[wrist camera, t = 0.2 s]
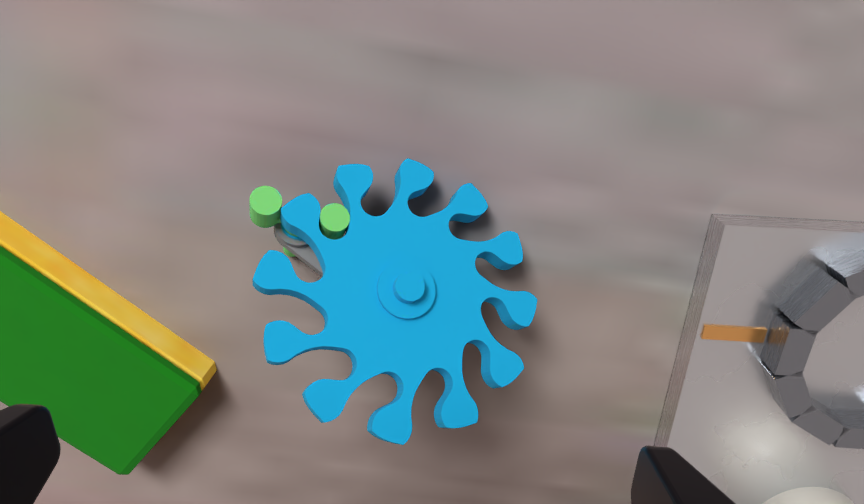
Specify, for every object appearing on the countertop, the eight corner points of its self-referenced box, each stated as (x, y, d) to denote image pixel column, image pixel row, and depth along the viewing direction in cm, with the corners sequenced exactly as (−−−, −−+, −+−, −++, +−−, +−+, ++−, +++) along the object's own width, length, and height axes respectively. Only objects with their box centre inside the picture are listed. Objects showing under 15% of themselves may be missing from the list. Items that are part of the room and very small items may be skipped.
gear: (589, 266, 21) (447, 513, 17) (519, 300, 26) (399, 492, 22) (356, 79, 20) (149, 288, 16) (334, 153, 26) (174, 323, 21)
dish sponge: (-51, 166, 23) (-107, 183, 21) (224, 360, 26) (201, 393, 24) (-108, 278, 25) (-163, 303, 23) (150, 443, 29) (123, 480, 26)
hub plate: (910, 565, 28) (948, 613, 26) (629, 543, 28) (643, 588, 26) (1092, 234, 21) (1166, 260, 19) (711, 214, 21) (739, 237, 19)
